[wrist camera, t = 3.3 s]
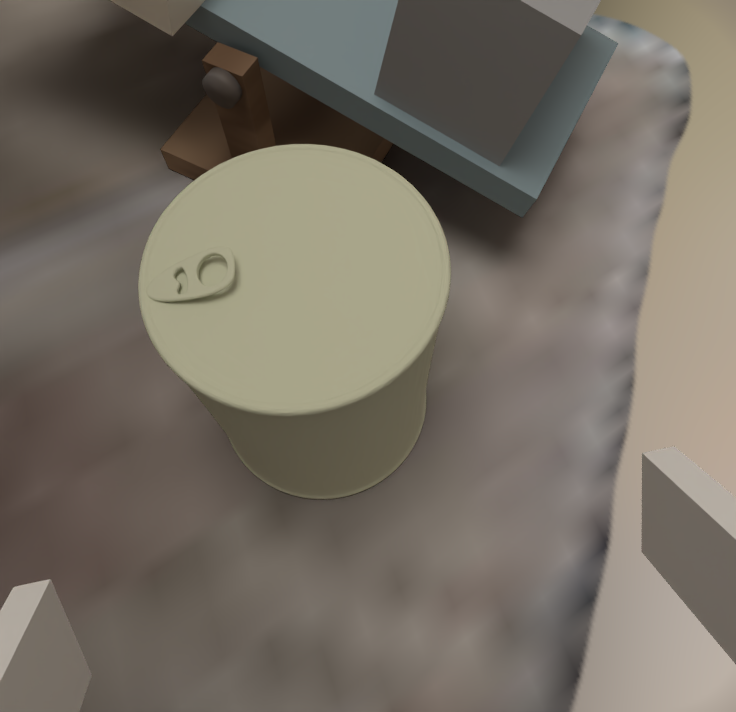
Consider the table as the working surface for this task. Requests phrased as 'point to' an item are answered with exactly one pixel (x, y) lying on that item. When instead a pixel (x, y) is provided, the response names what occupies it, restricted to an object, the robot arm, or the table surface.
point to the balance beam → (427, 73)
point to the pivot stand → (257, 118)
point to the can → (302, 311)
